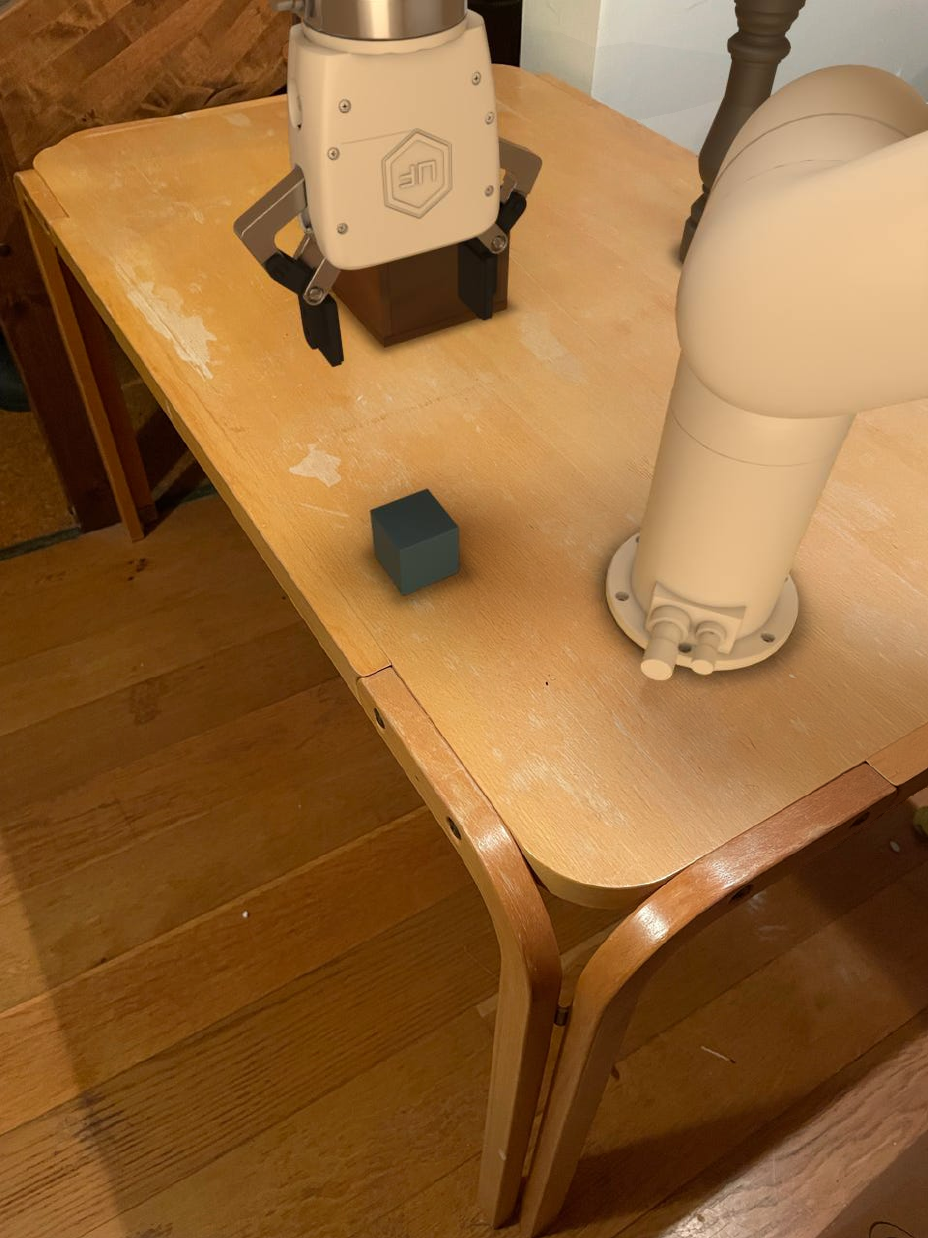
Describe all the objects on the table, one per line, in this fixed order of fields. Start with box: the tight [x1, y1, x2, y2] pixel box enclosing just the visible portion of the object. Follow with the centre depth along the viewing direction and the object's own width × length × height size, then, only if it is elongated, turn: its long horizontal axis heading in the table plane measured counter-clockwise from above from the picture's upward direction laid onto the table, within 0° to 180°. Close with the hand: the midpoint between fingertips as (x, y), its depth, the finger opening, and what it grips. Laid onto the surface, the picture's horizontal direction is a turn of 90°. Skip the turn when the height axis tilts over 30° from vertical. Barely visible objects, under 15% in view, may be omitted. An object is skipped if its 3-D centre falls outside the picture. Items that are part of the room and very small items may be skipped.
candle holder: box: [678, 0, 807, 265], centre depth 79 cm, size 6×6×25 cm
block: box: [369, 488, 460, 596], centre depth 61 cm, size 4×4×4 cm
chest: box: [330, 231, 511, 348], centre depth 82 cm, size 16×13×9 cm
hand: (403, 330), depth 53 cm, fingers open, 9 cm apart
